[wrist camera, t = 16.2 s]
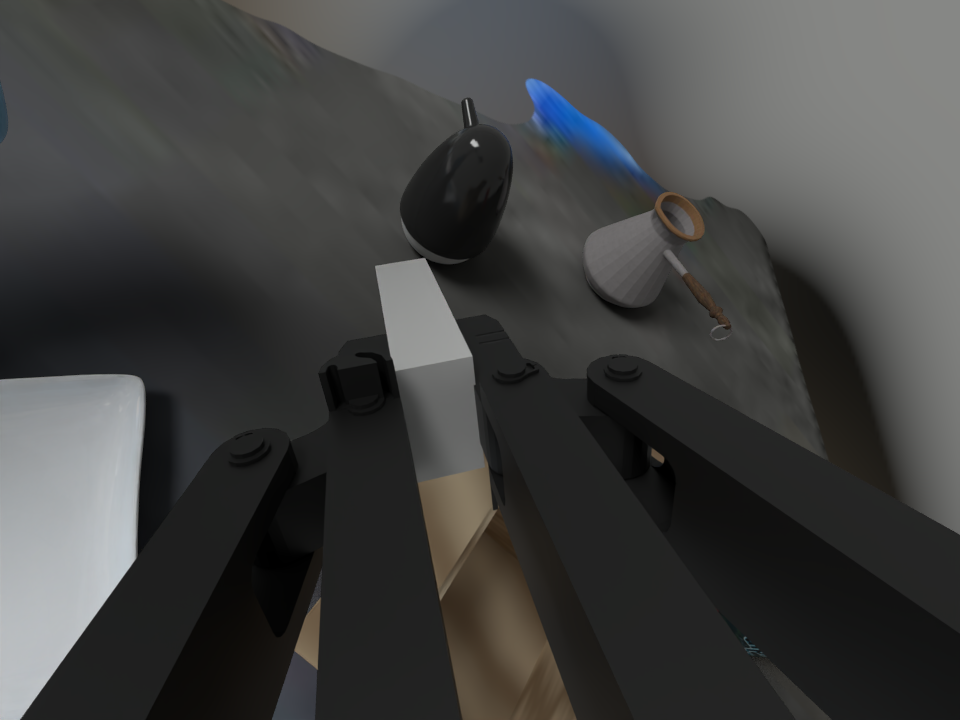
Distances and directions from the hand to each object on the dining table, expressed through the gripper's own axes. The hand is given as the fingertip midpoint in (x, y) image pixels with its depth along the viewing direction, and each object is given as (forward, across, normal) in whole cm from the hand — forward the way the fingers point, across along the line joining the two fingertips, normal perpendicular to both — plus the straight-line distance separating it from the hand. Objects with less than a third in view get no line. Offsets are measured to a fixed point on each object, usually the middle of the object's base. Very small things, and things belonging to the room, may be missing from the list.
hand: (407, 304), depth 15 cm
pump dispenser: (+41, +6, -9) cm, 42 cm away
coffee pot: (+39, +27, -21) cm, 52 cm away
